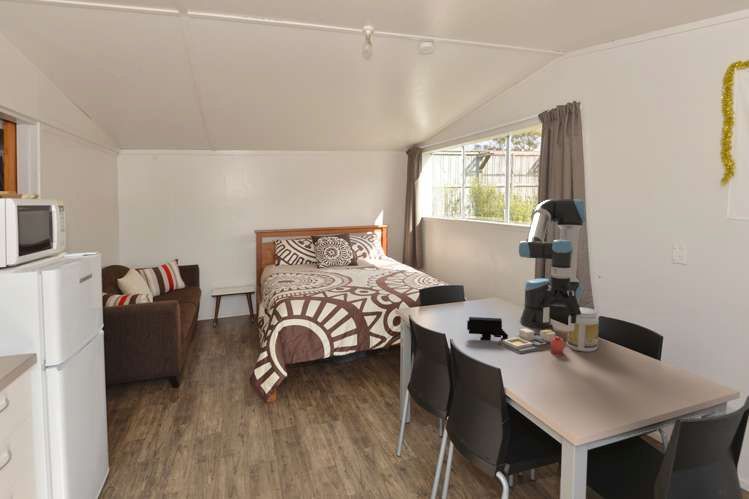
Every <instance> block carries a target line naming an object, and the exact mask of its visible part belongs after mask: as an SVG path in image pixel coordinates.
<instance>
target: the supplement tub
mask: <svg viewBox="0 0 749 499" xmlns="http://www.w3.org/2000/svg"><path fill="white" fill-rule="evenodd" d="M579 308H580V311H581V315H577V316H576V323H575V327H574V330H573V331H568V330H567V342H566V343H567V346H568V347H569V348H571V349H573V350H575V351H579V352H584V353H585V352H594V351H596V350H598V343H599V327H600V326H599V322H600V320H599V318H598V311H597V310H596V309H593V308H590V307H582V306H581V307H580V306H579ZM567 321H569V318H568V320H567Z"/></svg>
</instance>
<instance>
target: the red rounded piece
mask: <svg viewBox="0 0 749 499" xmlns="http://www.w3.org/2000/svg"><path fill="white" fill-rule="evenodd" d="M564 345H565V340H564V338H562V337H561V336H557V335H555V337H554V338H551V347H550V353H551V354H552V355H556V356H561V355H564Z"/></svg>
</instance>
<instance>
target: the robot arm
mask: <svg viewBox="0 0 749 499" xmlns="http://www.w3.org/2000/svg"><path fill="white" fill-rule="evenodd" d="M530 220H531V222H530V226H529V230H528V233H527V236H526V240H521V241H520V242H519V246H518V254H519V257H520V258H527V259H544V260H551V268H550V269H551V270H550V275H551V276H550V279H549V278H533V279H529V280H526V282H525V285H524V286H525V287H524V305H523V306H524V307H523V310H522V314H521V316H520V322H519V323H520V324H522V325H524V326H527V327H531V328H532V327H533V328H548V327H550V326H551V325H552V319H551V316H550V306H554V307H564V308H565V307H566V309H567V311H568V313H569V315H568V319H569V321H568V320H567V321H568V323H567V324H568V325H567V326H568V327H567V328H568V329H567V332H568V331H573V330H574V327H575V323H576V316H577V315H581V311H580V308H579V307H580V306H579V303H580V298H581V293H582V289H583V288H582V287H583V285H582V284H580V280H579V279H578V278H577V268H578V247H579V233H580V232H579V231H580V229H581V228H583V224H585V223H586V222H587V221H586V220H587V219H586V207H585V201H584V200H583V199H578V198H550V199H546V200H544V201H542V202H540V203H539V204H537V206H535V207H534V208H533V210H532V212H531V214H530ZM549 223H557V224H556V226H557V227H558V229H559V239H554V240H553V241H545V238H546V233H547V228H548V225H549Z"/></svg>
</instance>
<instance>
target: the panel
mask: <svg viewBox="0 0 749 499" xmlns="http://www.w3.org/2000/svg"><path fill="white" fill-rule="evenodd" d="M498 344H499V345H502V346H504V347H505V348H508V349H510V350H512V351H515V352H517V353H519V354H525V353H529V352H535V351H540V350H544V349H551V342H548V341H545V340H543V339H540V331H539V332H536V331H534V340H531V341H528V340H526V339H523V338H521V337H519V334H518V335H516V337H511V338H508V339H505V340H501V339H500V340H498Z"/></svg>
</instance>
